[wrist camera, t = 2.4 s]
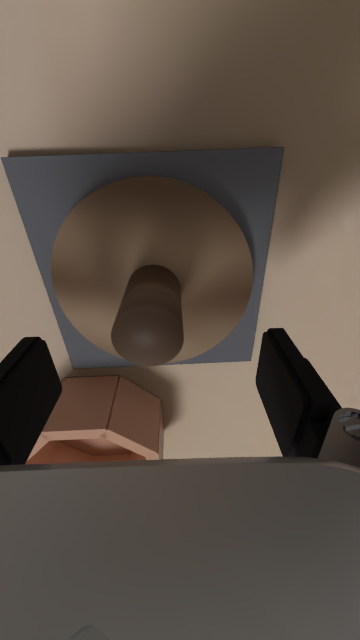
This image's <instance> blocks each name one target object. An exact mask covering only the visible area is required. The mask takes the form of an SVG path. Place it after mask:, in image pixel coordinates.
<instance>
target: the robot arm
mask: <svg viewBox="0 0 360 640" xmlns="http://www.w3.org/2000/svg"><path fill="white" fill-rule="evenodd" d="M256 386H257V389H258V392H259V394H260V397H261V400H262V402H263V405H264V408H265V410H266V413H267V416H268V418H269V421H270V424H271V426H272V429H273V431H274V434H275V437H276V439H277V442H278V445H279V447H280V450H281V453H282V455H283V457H227V458H192V459H160V460H130V461H102V462H75V463H50V464H26V462H27V460H28V458H29V456H30V454H31V452H32V450H33V448H34V446H35V444H36V442H37V440H38V438H39V436H40V434H41V432H42V430H43V428H44V426H45V425H46V423H47V421H48V419H49V417H50V415H51V413H52V411H53V409H54V407H55V405H56V403H57V401H58V399H59V397H60V395H61V393H62V385H61V382H60V379H59V376H58V374H57V371H56V368H55V366H54V363H53V360H52V358H51V355H50V352H49V349H48V347H47V344H46V342H45V341H44V340H42V339H41V338H40V337H24V338H23V339H22V340H21V341H20V342H19V343H18V344H17V345H16V346H15V347H14V348H13V349H12V351H11V352H10V353H9V354H8V355H7V356H6V357H5V358H4V359H3V360H2V361H1V363H0V640H360V410H358V409H354V408H342V407H341V406H340V405H339V403H338V402H337V400H336V399H335V397H334V396H333V395H332V393H331V392H330V390H329V389H328V387H327V386H326V385H325V383H324V382H323V380H322V379H321V378H320V376H319V375H318V373H317V372H316V370H315V369H314V368H313V366H312V365H311V363H310V362H309V361H308V360H307V359H306V358H303V356H302V355H301V353H300V352H299V350H298V349H297V347H296V346H295V345H294V343H293V342H292V340H291V339H290V337H289V336H288V334H287V333H286V331H285V330H284V329H283V328H269V329H268V331H267V332H264V333H263V337H262V343H261V350H260V356H259V362H258V368H257V374H256ZM25 464H26V465H25Z"/></svg>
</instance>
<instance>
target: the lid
mask: <svg viewBox="0 0 360 640" xmlns="http://www.w3.org/2000/svg"><path fill="white" fill-rule="evenodd" d="M51 276H52V283H53V287H54V291H55V295H56V297H57V300H58V302H59V304H60V307H61V308H62V310H63V312H64V314H65V315H66V317H67V318H68V320H69V321H70V322H71V324H72V325H73V326H74V327H75V328H76V329H77V330H78V331H79V333H80V334H81V335H83V336H84V337H85V338H86V339H87V340H88V341H90V342H91V343H93V344H94V345H96V346H97V347H98V348H100V349H102V350H104V351H106V352H108V353H110V354H112V355H114V356H117V357H119V358H123V359H125V360H127V361H129V362H131V363H134V364H137V365H141V366H157V365H161V364H165V363H174V362H179V361H183V360H187V359H190V358H193V357H195V356H198V355H200V354H202V353H204V352H206V351H208V350H210V349H211V348H213V347H214V346H216V345H217V344H218V343H220V342H221V341H222V340H223V339H224V338H225V337H227V336H228V335H229V333H230V332H231V331H232V330H233V329H234V328H235V327H236V325H237V324H238V322H239V321H240V319H241V318H242V316H243V314H244V312H245V310H246V308H247V305H248V302H249V299H250V295H251V290H252V285H253V265H252V258H251V254H250V250H249V246H248V244H247V241H246V239H245V236H244V234H243V233H242V231H241V229H240V227H239V226H238V224H237V222H236V221H235V220H234V219H233V217H232V216H231V215H230V214H229V212H228V211H227V210H226V209H225V208H224V207H223V206H222V205H220V204H219V203H218V202H217V201H216V200H215V199H214V198H212V197H211V196H210V195H208V194H207V193H205V192H204V191H203V190H201V189H199V188H197V187H195V186H193V185H191V184H189V183H186V182H183V181H180V180H177V179H173V178H167V177H162V176H137V177H129V178H126V179H122V180H119V181H115V182H112V183H110V184H108V185H106V186H104V187H101V188H99V189H97V190H95V191H94V192H92V193H91V194H89V195H88V196H86V197H85V198H84V199H83V200H82V201H80V202H79V203H78V204H77V205H76V206H75V207H74V208H73V209H72V211H71V212H70V213H69V214H68V216H67V217H66V218H65V220H64V221H63V223H62V225H61V227H60V229H59V231H58V233H57V236H56V239H55V242H54V245H53V250H52V255H51Z"/></svg>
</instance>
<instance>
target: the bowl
mask: <svg viewBox="0 0 360 640" xmlns="http://www.w3.org/2000/svg"><path fill="white" fill-rule="evenodd" d="M61 385H62V393H61V395H60V397H59V399H58V401H57V403H56V405H55V407H54V409H53V411H52V413H51V415H50V417H49V419H48V421H47V423H46V425H45V426H44V428H43V430H42V432H41V434H40V436H39V438H38V440H37V442H36V444H35V446H34V448H33V450H32V452H31V454H30V456H29V458H28V460H27V462H26V464H50V463H75V462H102V461H130V460H160V459H163V447H164V426H163V417H162V407H161V400H160V399H159V398H157V397H155V396H154V395H152V394H150V393H149V392H147V391H145V390H143V389H142V388H140V387H138V386H137V385H135V384H133V383H132V382H130V381H128V380H126V379H125V378H123V377H121V376H120V377H119V376H97V377H75V378H66V379H64V380H63V381H62V382H61ZM26 464H25V465H26Z"/></svg>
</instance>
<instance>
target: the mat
mask: <svg viewBox="0 0 360 640" xmlns="http://www.w3.org/2000/svg"><path fill="white" fill-rule="evenodd" d="M283 151H284V147H274V148H247V149H220V150H192V151H165V152H138V153H110V154H83V155H56V156H29V157H1V160H2V163H3V166H4V169H5V172H6V175H7V178H8V181H9V183H10V186H11V189H12V192H13V195H14V198H15V201H16V204H17V207H18V209H19V212H20V215H21V218H22V221H23V224H24V227H25V230H26V233H27V236H28V238H29V241H30V244H31V247H32V250H33V253H34V256H35V259H36V262H37V265H38V267H39V270H40V273H41V276H42V279H43V282H44V285H45V288H46V291H47V294H48V296H49V299H50V302H51V305H52V308H53V311H54V314H55V317H56V320H57V323H58V325H59V328H60V331H61V334H62V337H63V340H64V343H65V346H66V349H67V352H68V354H69V357H70V360H71V363H72V366H73V369H84V368H106V367H128V366H141V365H137V364H134V363H131V362H129V361H127V360H125V359H123V358H119V357H117V356H114V355H112V354H110V353H108V352H106V351H104V350H102V349H100V348H98V347H97V346H96V345H94V344H93V343H91V342H90V341H88V340H87V339H86V338H85V337H84V336H83V335H81V334H80V333H79V331H78V330H77V329H76V328H75V327H74V326H73V325H72V324H71V322H70V321H69V320H68V318H67V317H66V315H65V314H64V312H63V310H62V308H61V307H60V304H59V302H58V300H57V297H56V295H55V291H54V287H53V283H52V276H51V255H52V250H53V245H54V242H55V239H56V236H57V233H58V231H59V229H60V227H61V225H62V223H63V221H64V220H65V218H66V217H67V216H68V214H69V213H70V212H71V211H72V209H73V208H74V207H75V206H76V205H77V204H78V203H79V202H80V201H82V200H83V199H84V198H85V197H86V196H88V195H89V194H91V193H92V192H94V191H95V190H97V189H99V188H101V187H104V186H106V185H108V184H110V183H112V182H115V181H119V180H122V179H126V178H129V177H137V176H162V177H167V178H173V179H177V180H180V181H183V182H186V183H189V184H191V185H193V186H195V187H197V188H199V189H201V190H203V191H204V192H205V193H207V194H208V195H210V196H211V197H212V198H214V199H215V200H216V201H217V202H218V203H219V204H220V205H222V206H223V207H224V208H225V209H226V210H227V211H228V212H229V214H230V215H231V216H232V217H233V219H234V220H235V221H236V222H237V224H238V226H239V227H240V229H241V231H242V233H243V234H244V236H245V239H246V241H247V244H248V246H249V250H250V254H251V258H252V265H253V285H252V290H251V295H250V299H249V302H248V305H247V308H246V310H245V312H244V314H243V316H242V318H241V319H240V321H239V322H238V324H237V325H236V327H235V328H234V329H233V330H232V331H231V332H230V333H229V335H228V336H227V337H225V338H224V339H223V340H222V341H221V342H220V343H218V344H217V345H216V346H214V347H213V348H211V349H210V350H208V351H206V352H204V353H202V354H200V355H198V356H195V357H193V358H190V359H187V360H183V361H179V362H174V363H165V364H161V365H173V364H195V363H217V362H239V361H251V356H252V350H253V344H254V337H255V331H256V324H257V318H258V311H259V305H260V299H261V292H262V286H263V279H264V273H265V266H266V260H267V254H268V247H269V241H270V234H271V228H272V221H273V215H274V209H275V202H276V196H277V189H278V183H279V176H280V170H281V164H282V157H283Z"/></svg>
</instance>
